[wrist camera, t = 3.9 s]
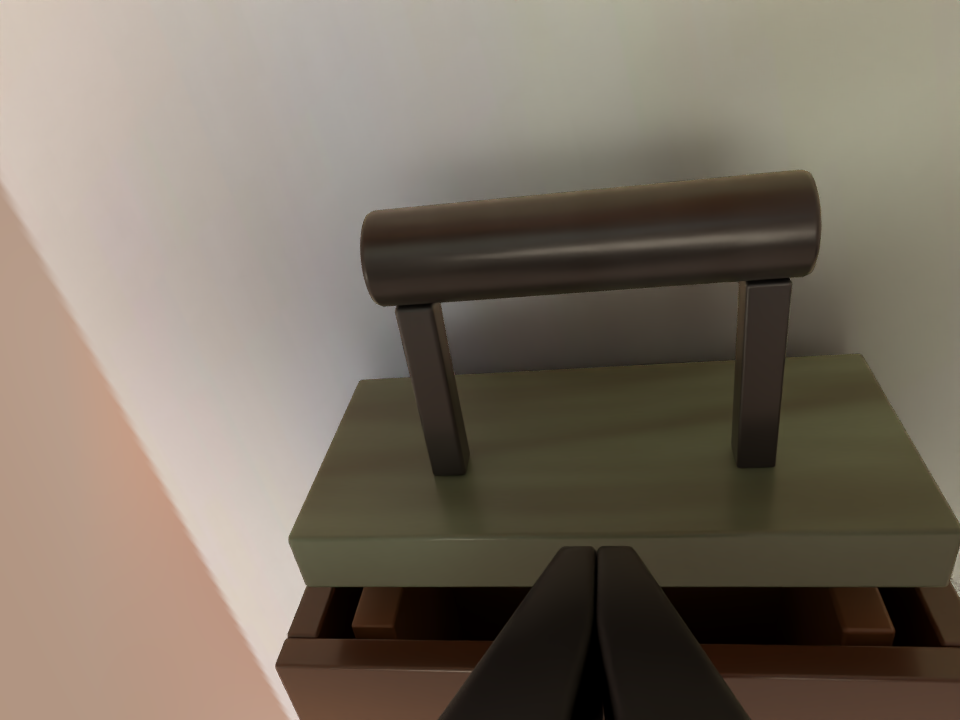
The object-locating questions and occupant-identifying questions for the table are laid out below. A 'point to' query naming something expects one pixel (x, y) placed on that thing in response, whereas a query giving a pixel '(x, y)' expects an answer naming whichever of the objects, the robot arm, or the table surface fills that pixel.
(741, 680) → the cabinet
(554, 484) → the drawer
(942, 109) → the table surface
